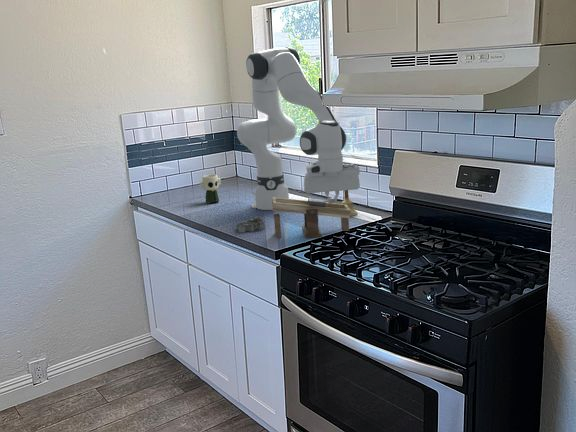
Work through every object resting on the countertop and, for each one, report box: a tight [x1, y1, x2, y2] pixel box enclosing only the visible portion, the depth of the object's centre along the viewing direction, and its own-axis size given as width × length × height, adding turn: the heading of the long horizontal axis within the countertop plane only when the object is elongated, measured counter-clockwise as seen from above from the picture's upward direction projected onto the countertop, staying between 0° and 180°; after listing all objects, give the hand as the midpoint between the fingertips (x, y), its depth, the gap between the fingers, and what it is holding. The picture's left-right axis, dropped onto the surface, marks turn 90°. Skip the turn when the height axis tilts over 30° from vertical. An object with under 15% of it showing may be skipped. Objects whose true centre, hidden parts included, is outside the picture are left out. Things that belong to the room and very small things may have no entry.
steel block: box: [307, 197, 327, 207], centre depth 214 cm, size 5×6×4 cm
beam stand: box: [273, 208, 350, 239], centre depth 216 cm, size 14×27×10 cm, turn 93°
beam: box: [272, 197, 351, 219], centre depth 215 cm, size 9×28×3 cm, turn 93°
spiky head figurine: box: [199, 174, 222, 203], centre depth 277 cm, size 11×7×13 cm, turn 126°
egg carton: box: [235, 215, 265, 233], centre depth 227 cm, size 11×8×4 cm
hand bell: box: [340, 190, 359, 217], centre depth 238 cm, size 8×8×16 cm
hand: (332, 203), depth 215 cm, fingers closed
